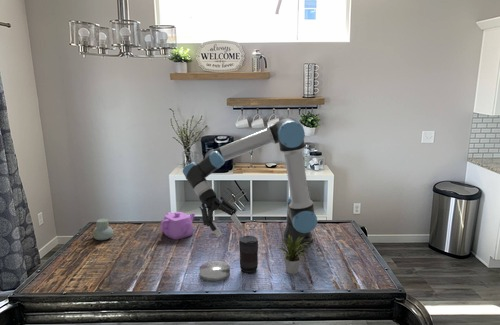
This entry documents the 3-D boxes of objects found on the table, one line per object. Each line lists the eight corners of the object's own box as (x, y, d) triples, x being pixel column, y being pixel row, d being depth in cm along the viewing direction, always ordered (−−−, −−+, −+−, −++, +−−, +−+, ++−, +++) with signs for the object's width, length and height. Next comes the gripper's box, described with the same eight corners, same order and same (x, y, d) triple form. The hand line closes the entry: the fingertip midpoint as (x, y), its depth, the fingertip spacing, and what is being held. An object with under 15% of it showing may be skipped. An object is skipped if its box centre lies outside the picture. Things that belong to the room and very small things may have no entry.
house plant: (301, 284, 155) (302, 247, 151) (270, 275, 161) (271, 240, 158) (313, 269, 167) (314, 234, 163) (284, 262, 173) (285, 228, 170)
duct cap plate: (232, 268, 168) (232, 261, 167) (226, 283, 155) (226, 276, 154) (203, 266, 169) (203, 260, 169) (196, 281, 157) (195, 274, 156)
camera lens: (236, 268, 168) (236, 236, 165) (253, 265, 170) (254, 234, 167) (243, 276, 160) (243, 243, 157) (260, 273, 163) (260, 241, 160)
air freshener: (115, 239, 199) (114, 221, 197) (99, 243, 193) (98, 225, 191) (107, 233, 207) (105, 215, 204) (91, 237, 201) (90, 219, 199)
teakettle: (166, 227, 214) (165, 207, 212) (196, 228, 214) (195, 207, 211) (158, 240, 198) (157, 217, 195) (190, 240, 197) (189, 218, 194)
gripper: (219, 191, 185) (243, 227, 180) (181, 204, 166) (206, 244, 160) (227, 182, 181) (252, 219, 175) (189, 194, 162) (215, 235, 156)
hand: (230, 231), depth 168 cm, fingers open, 13 cm apart
